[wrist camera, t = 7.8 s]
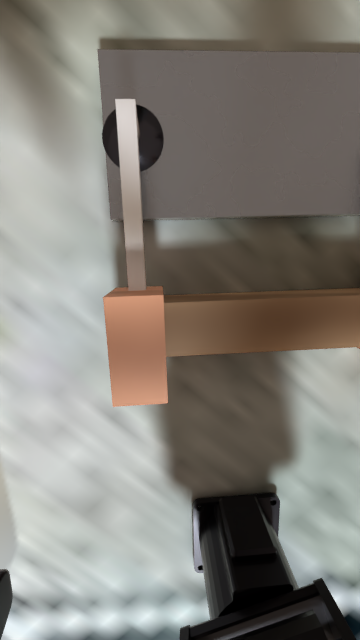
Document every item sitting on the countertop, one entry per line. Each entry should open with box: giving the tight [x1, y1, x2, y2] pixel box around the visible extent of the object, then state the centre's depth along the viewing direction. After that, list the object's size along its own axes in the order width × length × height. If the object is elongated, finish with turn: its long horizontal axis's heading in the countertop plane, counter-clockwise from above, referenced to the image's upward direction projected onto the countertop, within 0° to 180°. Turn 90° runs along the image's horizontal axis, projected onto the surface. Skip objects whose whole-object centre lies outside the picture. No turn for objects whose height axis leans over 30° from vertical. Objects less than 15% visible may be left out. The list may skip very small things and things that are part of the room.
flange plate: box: [98, 49, 360, 221], centre depth 16 cm, size 8×20×1 cm, turn 92°
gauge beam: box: [103, 99, 360, 407], centre depth 15 cm, size 13×20×6 cm, turn 92°
